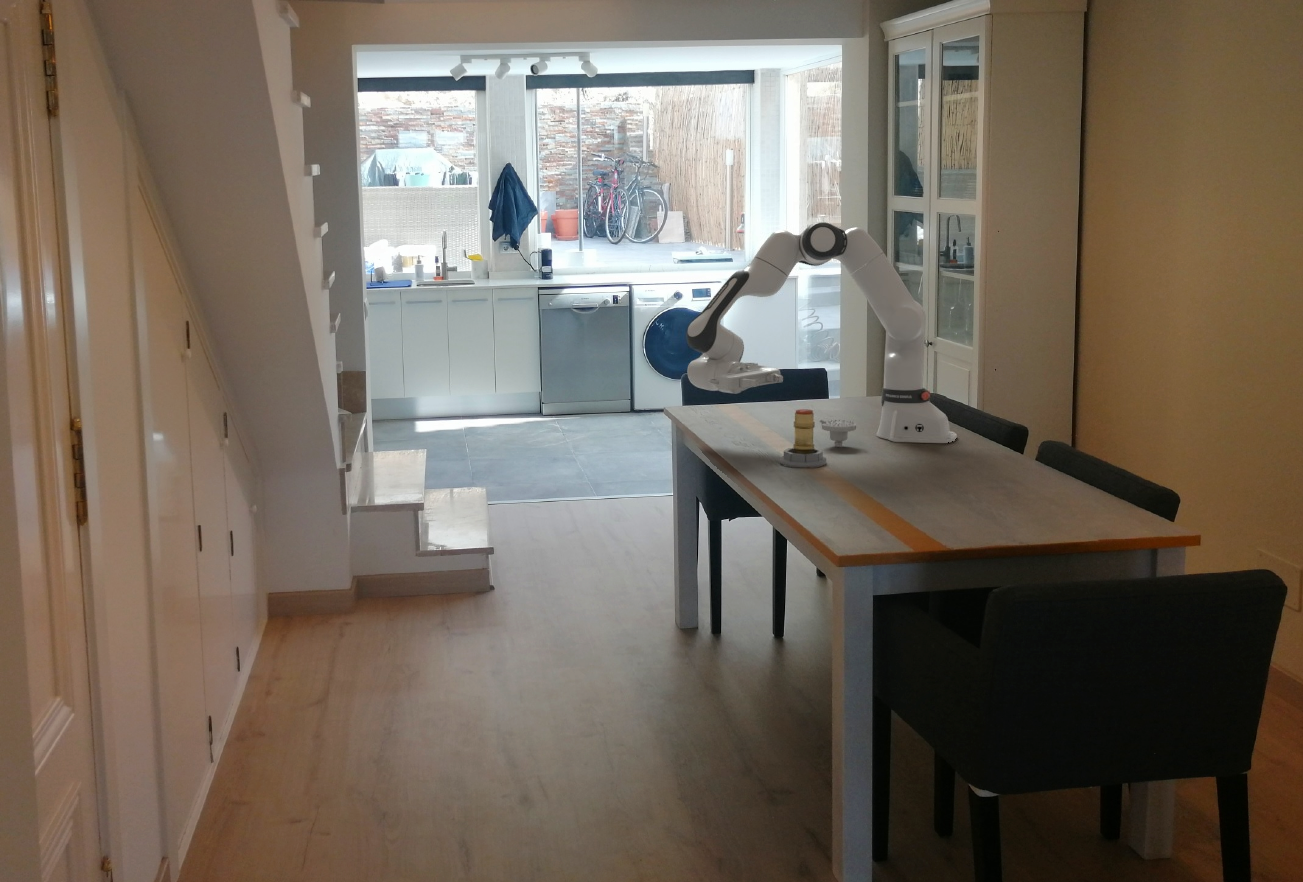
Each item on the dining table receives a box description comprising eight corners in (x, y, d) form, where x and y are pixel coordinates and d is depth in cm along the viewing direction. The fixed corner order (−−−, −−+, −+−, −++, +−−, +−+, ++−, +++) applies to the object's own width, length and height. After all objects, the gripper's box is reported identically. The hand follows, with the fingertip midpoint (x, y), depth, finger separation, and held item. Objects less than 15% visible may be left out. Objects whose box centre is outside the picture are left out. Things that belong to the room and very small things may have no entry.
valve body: (816, 457, 328) (817, 409, 326) (810, 461, 323) (811, 412, 321) (796, 455, 330) (797, 408, 328) (790, 459, 325) (791, 411, 323)
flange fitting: (831, 460, 330) (831, 448, 329) (819, 469, 319) (819, 457, 319) (787, 457, 335) (787, 445, 334) (774, 465, 324) (774, 453, 323)
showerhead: (820, 417, 353) (856, 418, 351) (820, 442, 354) (856, 443, 352) (818, 422, 344) (855, 423, 342) (818, 448, 345) (854, 450, 343)
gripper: (705, 370, 341) (741, 374, 330) (758, 362, 354) (794, 365, 343) (706, 393, 342) (741, 397, 331) (758, 384, 355) (794, 388, 344)
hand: (769, 381), depth 337 cm, fingers open, 8 cm apart
